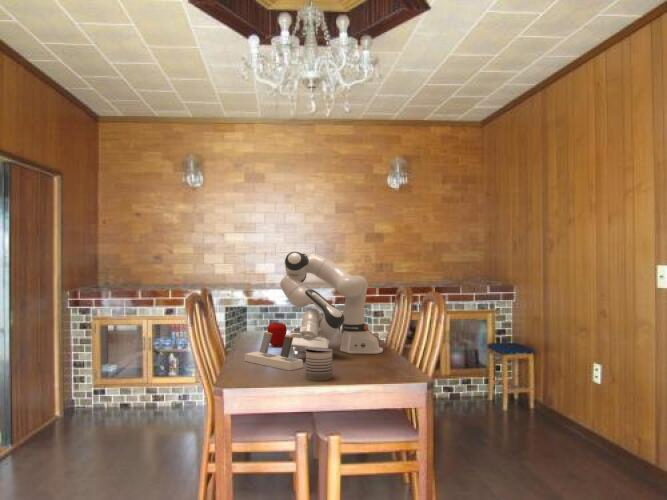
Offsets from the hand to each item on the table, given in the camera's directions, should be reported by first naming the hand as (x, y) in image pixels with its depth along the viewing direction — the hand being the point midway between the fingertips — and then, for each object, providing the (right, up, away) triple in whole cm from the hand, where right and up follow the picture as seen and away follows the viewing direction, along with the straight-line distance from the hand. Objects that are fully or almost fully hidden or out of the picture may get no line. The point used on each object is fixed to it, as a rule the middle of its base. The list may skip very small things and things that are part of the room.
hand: (305, 357), depth 244 cm
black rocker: (-9, +1, -7) cm, 12 cm away
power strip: (-15, -3, -2) cm, 15 cm away
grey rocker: (-20, +1, +2) cm, 20 cm away
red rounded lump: (-18, -3, +44) cm, 48 cm away
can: (+7, -3, -26) cm, 27 cm away
